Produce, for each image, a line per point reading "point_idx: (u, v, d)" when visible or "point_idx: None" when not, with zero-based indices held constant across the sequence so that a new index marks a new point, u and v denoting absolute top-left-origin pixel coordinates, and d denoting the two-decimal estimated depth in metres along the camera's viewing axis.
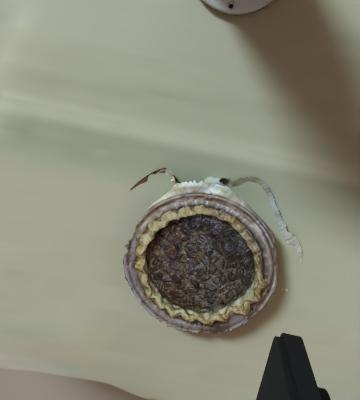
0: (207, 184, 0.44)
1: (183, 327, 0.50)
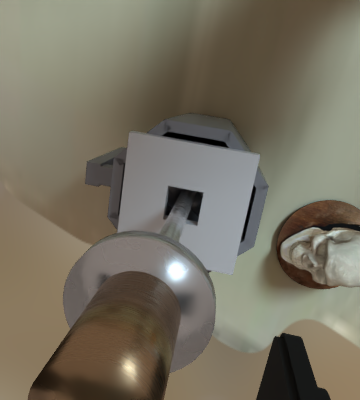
0: None
1: None
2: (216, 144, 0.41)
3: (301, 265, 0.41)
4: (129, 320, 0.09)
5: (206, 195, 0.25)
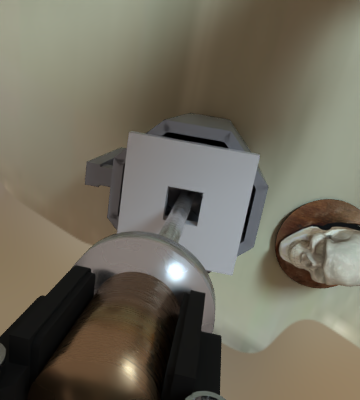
0: None
1: None
2: (216, 144, 0.41)
3: (300, 264, 0.41)
4: (128, 320, 0.09)
5: (206, 195, 0.25)
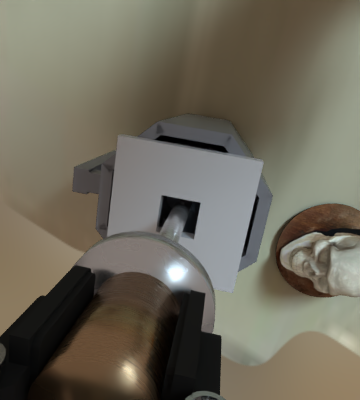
0: None
1: None
2: (216, 146, 0.39)
3: (302, 273, 0.39)
4: (128, 321, 0.09)
5: (204, 205, 0.22)
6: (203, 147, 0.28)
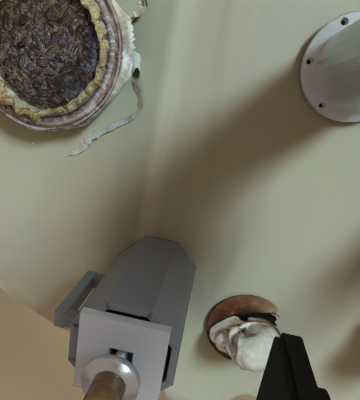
0: (131, 54, 0.43)
1: None
2: None
3: (222, 350, 0.51)
4: (103, 395, 0.29)
5: (135, 355, 0.35)
6: None
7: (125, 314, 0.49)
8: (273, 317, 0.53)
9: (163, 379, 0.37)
